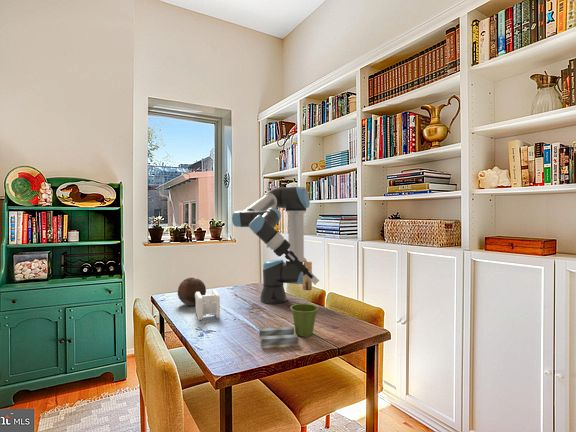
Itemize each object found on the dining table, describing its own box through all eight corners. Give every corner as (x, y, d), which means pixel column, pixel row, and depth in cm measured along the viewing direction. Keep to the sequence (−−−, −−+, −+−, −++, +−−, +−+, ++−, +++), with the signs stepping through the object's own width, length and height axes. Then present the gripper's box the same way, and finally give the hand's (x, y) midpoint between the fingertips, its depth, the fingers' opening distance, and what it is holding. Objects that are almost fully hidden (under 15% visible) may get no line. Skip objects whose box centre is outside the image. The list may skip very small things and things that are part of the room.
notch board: (261, 348, 131) (261, 339, 131) (259, 336, 143) (259, 328, 143) (297, 346, 133) (297, 337, 133) (292, 334, 145) (292, 326, 145)
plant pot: (297, 341, 138) (297, 313, 138) (285, 331, 149) (285, 305, 149) (323, 336, 143) (323, 309, 143) (310, 327, 154) (310, 302, 154)
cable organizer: (220, 319, 165) (220, 295, 165) (197, 322, 162) (197, 297, 162) (215, 311, 180) (215, 288, 179) (194, 313, 176) (194, 290, 176)
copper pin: (306, 287, 156) (306, 261, 156) (313, 289, 154) (313, 262, 153) (300, 289, 153) (300, 262, 153) (308, 290, 150) (308, 263, 150)
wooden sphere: (210, 301, 198) (210, 275, 197) (199, 309, 183) (198, 280, 182) (185, 300, 200) (185, 274, 200) (172, 308, 185) (172, 280, 185)
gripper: (270, 248, 159) (306, 283, 162) (274, 253, 142) (314, 292, 145) (282, 236, 160) (317, 271, 162) (287, 240, 143) (326, 279, 146)
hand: (315, 281), depth 154 cm, fingers closed on copper pin, 4 cm apart
